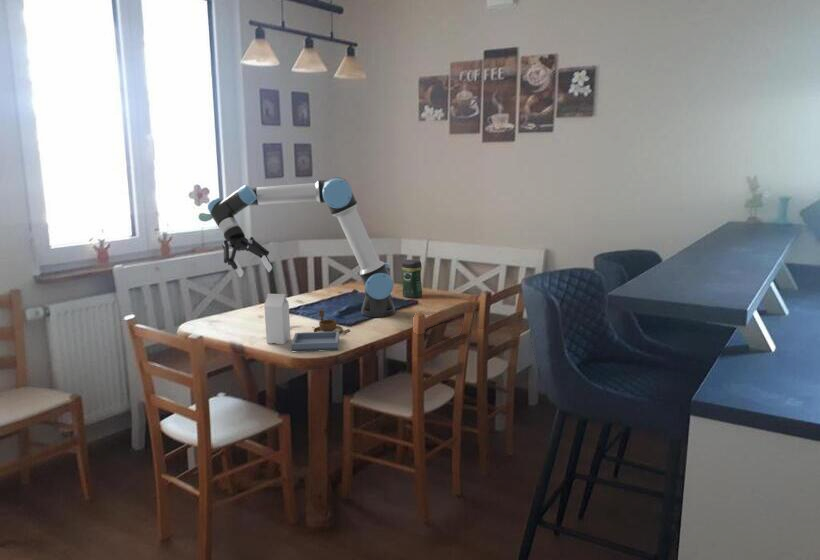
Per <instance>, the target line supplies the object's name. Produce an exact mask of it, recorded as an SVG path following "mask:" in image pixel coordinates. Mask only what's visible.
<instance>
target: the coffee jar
mask: <svg viewBox="0 0 820 560" xmlns="http://www.w3.org/2000/svg"><path fill="white" fill-rule="evenodd" d="M422 268H423V267H422V262H421V261H420V260H415V259H405V260H402V265H401V271H402V275H403V277H402V296H403V297H406V298H409V299H410V298H411V299H414V298H421V296H423V287H422V276H421V275H422V273H421V272H422Z"/></svg>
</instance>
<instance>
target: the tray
mask: <svg viewBox="0 0 820 560" xmlns="http://www.w3.org/2000/svg"><path fill="white" fill-rule="evenodd" d="M339 331H340V330H337V331H336V330H334V331H332V332H323V331H317V332H314V331H312V332H311V331H310V332H295V333H294V336H293V339H292V342H291V352H292V351H306V352H320V351H319V350H330V351H338V350H339V343H340V342H339V341H340V334H339Z"/></svg>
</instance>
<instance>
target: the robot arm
mask: <svg viewBox="0 0 820 560" xmlns="http://www.w3.org/2000/svg"><path fill="white" fill-rule="evenodd" d="M301 202H302V203H303V202H318V203H320V204H322V203H323V204H324V203H325V204H326V205H327V207H328V210H329V211H330V213H331V216H333V217H335V218H337V220H338V222H339V224H340V227H341V229H342V231H343V233H344V235H345V237H346V240H347V242H348V244H349V246H350V249H351V250H352V252H353V255H354V257H355V259H356V261H357V264H358V265H359V268H360V270H359V276H360V278H361V281H362V283H363V285H364V299H363V302H362V305H361V315H362V314H363V316H364V315H365V317H369V318H370V317H371V318H384V317H390V316H392V315H394V314H395V313H396V308H395V304H394V302H393V298H392V296H391V293H392V292H393V290H394V280H393V278H392V277H391V264H390V263H388V262H384V261H382V260H380V259H379V256H378V254H377V252H376V250H375V248H374V246H373V244H372V243H373V242H372V241H371V239H370V237H369V234H368V232H367V229H366V228H365V226H364V224H363V221H362V219H361V216H360V215H359V212H358V210H357V206H358V201H357V199H356V197H355V195H354V193H353V190H352V188H351V185H350V183H349V182H348V181H347V180H346V179H344V178H342V177H338V176H337V177H336V176H335V177H331V178H327V179H321V180H317V181H316V182H311V183H297V184H287V185H286V184H283V185H271V186H257V187H251V186H249V185H248V184H245V185H242V186H241V187H238V189H237V190H235V191H234V192H233V193H231V194H230V195H229V196H227V197H226V198H225V199H223V198H222V197H216V198H213V199H212V200H210V202H208V205H207V210H208V211H209V213H210V215H211V217H212V219H213V221H214V222H215V223H216V226H217V227H218V229H219V231H220V232H221V234H222V235H223V238H224V239H225V240H224V241H223V242H222V244H221V246H222V249H223V263H224V264H228V266H231V267H232V269H233V270H235V272H236V273H237V275H238V277H239V278H242V277H243V275H244V270H243V268H242V267H241V265H240V264H239V262H238V260H237V259H235V257H236V253H237V252H240V251H246V252H250V253H251V254H253V255H255V256H257V257H259V258H261V259H260V262H261V263H262V264H263V266H264V267H265V270H266V271H267V273H271V271H272V269H273V266H272V265H271V263H270V260H269V257H268V255H269V254H270V251H268V250H267V248H265V247H264V246H263V245H261V243H259V242H257V241H256V239H255V238H254V237H252V236H250V238H248V239H247V238H246V237H245V233H244V231H243V230H242V227H241V226H240V224H239V223H238V221H237V219H236V218H235V216H236V215H237V214H238V213H240V212H242V211H243V210H244V209H246V208H247V207H249V206H260V205H273V204H274V205H277V204H290V203H301ZM230 247H231V248H232V250H231V254H230Z"/></svg>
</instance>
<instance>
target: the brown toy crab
mask: <svg viewBox="0 0 820 560" xmlns="http://www.w3.org/2000/svg"><path fill="white" fill-rule="evenodd" d="M318 317H319V318H320V321H319V323H318V324H319V326H317V327H314V326H313V332H332V331H336V330H337V331H339V335H340V334H341V333H342V332H343V331H344V328H343V327H342V326H339V325H337V320H336V319H335V320H334V319H323V318H324V317H325V310H321V309H320V310H318ZM349 332H351V329H350V328H346V329H345V331H344V333H343V336H344V335H346V334H347V333H349Z"/></svg>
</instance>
